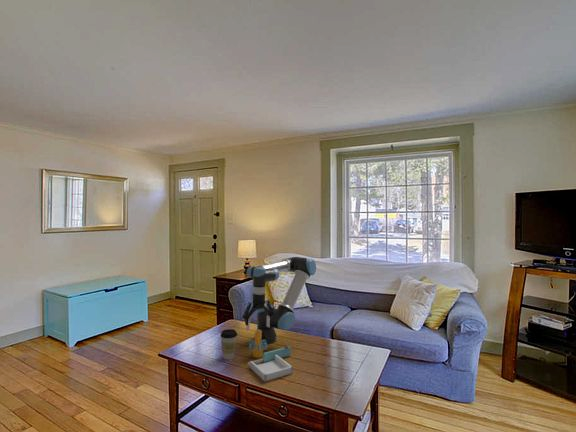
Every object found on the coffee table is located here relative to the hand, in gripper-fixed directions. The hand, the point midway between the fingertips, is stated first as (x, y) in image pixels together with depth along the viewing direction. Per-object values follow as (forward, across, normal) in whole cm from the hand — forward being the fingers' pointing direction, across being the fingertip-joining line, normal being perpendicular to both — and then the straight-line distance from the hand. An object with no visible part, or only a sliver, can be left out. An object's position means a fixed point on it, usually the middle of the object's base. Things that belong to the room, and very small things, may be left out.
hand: (258, 328), depth 185 cm
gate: (+16, -8, +9) cm, 20 cm away
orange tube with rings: (+17, 0, 0) cm, 17 cm away
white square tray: (+16, +2, +19) cm, 25 cm away
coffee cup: (+17, +16, -7) cm, 24 cm away
